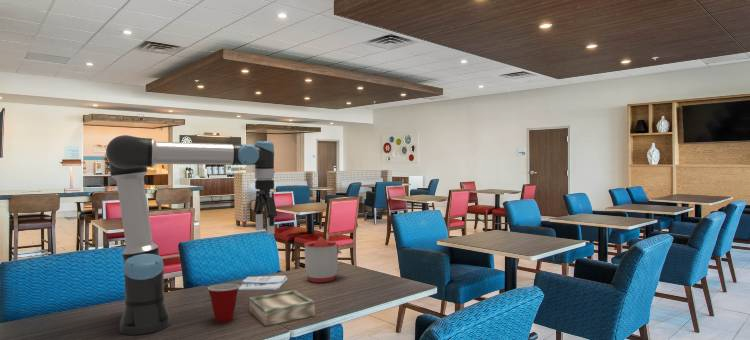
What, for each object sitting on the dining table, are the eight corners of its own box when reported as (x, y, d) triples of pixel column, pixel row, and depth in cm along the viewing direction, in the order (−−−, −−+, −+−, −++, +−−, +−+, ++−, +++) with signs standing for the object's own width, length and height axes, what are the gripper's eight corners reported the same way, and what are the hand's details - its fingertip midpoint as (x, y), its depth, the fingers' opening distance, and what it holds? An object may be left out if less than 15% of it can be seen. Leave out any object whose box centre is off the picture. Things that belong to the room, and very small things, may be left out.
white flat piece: (288, 279, 215) (288, 274, 215) (278, 291, 195) (278, 286, 195) (248, 279, 216) (248, 275, 216) (233, 291, 196) (233, 286, 196)
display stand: (265, 325, 153) (265, 311, 153) (249, 311, 168) (249, 297, 168) (314, 315, 162) (314, 301, 162) (295, 302, 178) (295, 289, 178)
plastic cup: (245, 314, 164) (244, 281, 164) (233, 325, 153) (232, 290, 153) (216, 314, 165) (215, 281, 165) (202, 324, 155) (201, 289, 154)
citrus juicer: (345, 282, 206) (344, 238, 206) (306, 285, 202) (305, 240, 201) (338, 274, 221) (338, 233, 221) (302, 277, 217) (302, 235, 216)
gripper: (285, 180, 177) (285, 235, 177) (263, 178, 198) (263, 227, 198) (266, 180, 173) (266, 236, 173) (245, 178, 193) (246, 228, 194)
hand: (264, 231), depth 185 cm, fingers open, 13 cm apart
